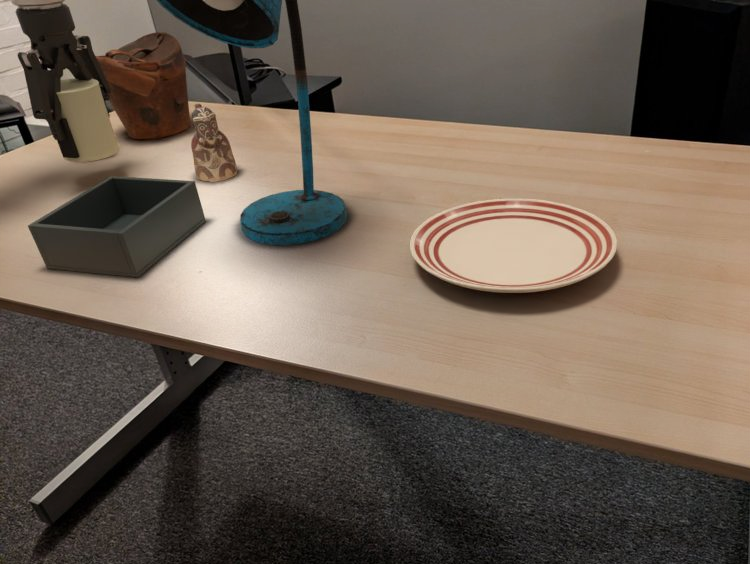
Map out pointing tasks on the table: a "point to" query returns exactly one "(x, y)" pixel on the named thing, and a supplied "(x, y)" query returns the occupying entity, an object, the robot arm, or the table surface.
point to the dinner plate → (513, 245)
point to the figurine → (211, 148)
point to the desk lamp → (308, 206)
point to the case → (148, 86)
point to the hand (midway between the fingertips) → (90, 147)
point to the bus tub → (119, 226)
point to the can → (87, 119)
